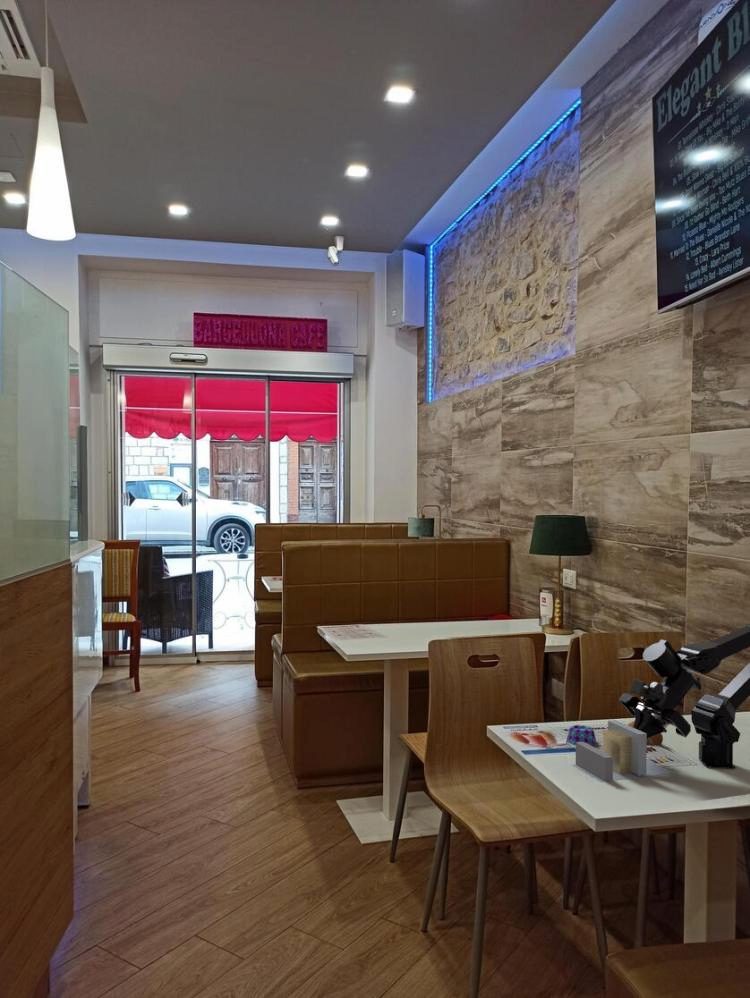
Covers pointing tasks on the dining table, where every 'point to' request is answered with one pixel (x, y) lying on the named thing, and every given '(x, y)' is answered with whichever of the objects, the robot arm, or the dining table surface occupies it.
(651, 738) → the bread roll
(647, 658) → the robot arm
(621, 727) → the sliding jaw
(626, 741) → the brass block
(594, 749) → the plate
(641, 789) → the dining table surface
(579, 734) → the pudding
